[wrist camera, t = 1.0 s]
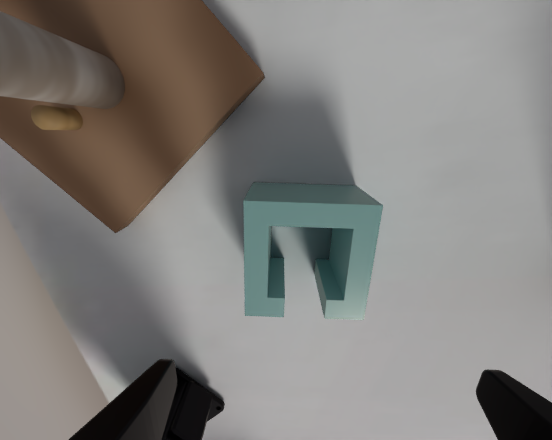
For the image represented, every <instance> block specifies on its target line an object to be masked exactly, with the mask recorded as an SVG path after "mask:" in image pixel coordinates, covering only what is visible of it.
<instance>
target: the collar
mask: <svg viewBox="0 0 552 440" xmlns="http://www.w3.org/2000/svg"><path fill="white" fill-rule="evenodd" d="M243 206H244V284H245V316H269V317H284V302H285V289H284V258H271V227H272V226H287V227H316V228H332V236H331V245H330V255H329V260H325V259H316V262H315V273H314V275H315V279H316V283H317V288H318V292H319V297H320V301H321V305H322V310H323V314H324V318H325V319H348V320H364V315H365V309H366V303H367V297H368V292H369V286H370V280H371V274H372V268H373V262H374V256H375V250H376V244H377V238H378V232H379V226H380V220H381V215H382V209H383V205H382V204H380V203H379V202H378V201H376V200H375V199H374V198H372V197H371V196H370V195H368V194H367V193H365V192H364V191H363V190H361V189H360V188H359V187H357V186H353V185H322V184H291V183H260V182H254V183H253V184H252V186H251V188H250V190H249V192H248V193H247V195H246V197H245V199H244V201H243Z"/></svg>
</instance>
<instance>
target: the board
mask: <svg viewBox="0 0 552 440" xmlns="http://www.w3.org/2000/svg"><path fill="white" fill-rule="evenodd" d="M264 78H265V77H264V74H263V72H262V71H261V69H260V68H259V67H258V66H257V65H256V63H255V62H254V61H253V60H252V59H251V58H250V56H249V55H248V54H247V53H246V52H245V51H244V49H243V48H242V47H241V46H240V45H239V44H238V42H237V41H236V40H235V39H234V38H233V36H232V35H231V34H230V33H229V32H228V31H227V29H226V28H225V27H224V26H223V25H222V24H221V22H220V21H219V20H218V19H217V18H216V17H215V15H214V14H213V13H212V12H211V11H210V9H209V8H208V7H207V6H206V5H205V4H204V2H203V1H202V0H0V138H1V139H2V140H3V141H5V142H6V143H7V144H8V145H9V146H11V147H12V148H13V149H14V150H16V151H17V152H18V153H19V154H20V155H22V156H23V157H24V158H25V159H26V160H28V161H29V162H30V163H31V164H32V165H34V166H35V167H36V168H37V169H39V170H40V171H41V172H42V173H43V174H45V175H46V176H47V177H48V178H49V179H51V180H52V181H53V182H54V183H55V184H57V185H58V186H59V187H60V188H62V189H63V190H64V191H65V192H66V193H68V194H69V195H70V196H71V197H72V198H74V199H75V200H76V201H77V202H78V203H80V204H81V205H82V206H83V207H85V208H86V209H87V210H88V211H89V212H91V213H92V214H93V215H94V216H95V217H97V218H98V219H99V220H100V221H101V222H103V223H104V224H105V225H106V226H107V227H109V228H110V229H111V230H112V231H114V232H115V233H117V232H118V231H120V230H122V229H123V228H125V227H127V226H128V225H129V224H130V223H131V222H132V221H133V220H134V219H135V218H136V216H137V215H138V214H139V213H140V212H141V211H142V210H143V209H144V208H145V207H146V206H147V205H148V203H149V202H150V201H151V200H152V199H153V198H154V197H155V196H156V195H157V194H158V193H159V192H160V190H161V189H162V188H163V187H164V186H165V185H166V184H167V183H168V182H169V181H170V180H171V179H172V178H173V176H174V175H175V174H176V173H177V172H178V171H179V170H180V169H181V168H182V167H183V166H184V165H185V163H186V162H187V161H188V160H189V159H190V158H191V157H192V156H193V155H194V154H195V153H196V152H197V150H198V149H199V148H200V147H201V146H202V145H203V144H204V143H205V142H206V141H207V140H208V139H209V137H210V136H211V135H212V134H213V133H214V132H215V131H216V130H217V129H218V128H219V127H220V126H221V125H222V123H223V122H224V121H225V120H226V119H227V118H228V117H229V116H230V115H231V114H232V113H233V112H234V110H235V109H236V108H237V107H238V106H239V105H240V104H241V103H242V102H243V101H244V100H245V99H246V97H247V96H248V95H249V94H250V93H251V92H252V91H253V90H254V89H255V88H256V87H257V86H258V84H259V83H260V82H261V81H262V80H263V79H264Z"/></svg>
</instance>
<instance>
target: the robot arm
mask: <svg viewBox="0 0 552 440" xmlns="http://www.w3.org/2000/svg"><path fill="white" fill-rule="evenodd" d="M476 395H477V399H478V401H479V403H480V405H481V407H482V409H483V411H484V413H485V415H486V417H487V419H488V421H489V423H490V425H491V427H492V429H493V431H494V433H495V435H496V437H497V439H498V440H552V403H551V402H550V401H548V400H547V399H545V398H544V397H542V396H540V395H539V394H537V393H536V392H534V391H533V390H531V389H529V388H528V387H526V386H525V385H523V384H522V383H520V382H518V381H517V380H515V379H514V378H512V377H511V376H509V375H507V374H506V373H504V372H503V371H500V370H484V371H483V372H482V375H481V377H480V380H479V383H478V386H477V388H476ZM224 405H225V404H224V402H223V401H222V400H220V399H219V398H218V397H216V396H215V395H214V394H212V393H211V392H209V391H208V390H207V389H205V388H204V387H203V386H201V385H200V384H199V383H197V382H196V381H194V380H193V379H192V378H190V377H189V376H188V375H186V374H185V373H184V372H182V371H181V370H179V369H178V368H176V367H175V362H174V360H172V359H160V360H158V361H157V362H155V363H154V364H153V365H152V366H151V367H150V368H149V369H148V370H146V371H145V372H144V373H143V374H142V375H141V376H140V377H139V378H137V379H136V380H135V381H134V382H133V383H132V384H131V385H130V386H128V387H127V388H126V389H125V390H124V391H123V392H122V393H121V394H119V395H118V396H117V397H116V398H115V399H114V400H113V401H111V402H110V403H109V404H108V405H107V406H106V407H105V408H104V409H103V410H101V411H100V412H99V413H98V414H97V415H96V416H95V417H94V418H92V419H91V420H90V421H89V422H88V423H87V424H86V425H84V426H83V427H82V428H81V429H80V430H79V431H78V432H77V433H75V435H73V436H72V437H71V438H70V439H69V440H202V438H203V434H204V430H205V426H206V422H207V421H209V420H210V419H212V418H213V417H214V416H216V415H217V414H219V413H220V412H222V411H223V409H224Z"/></svg>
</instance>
